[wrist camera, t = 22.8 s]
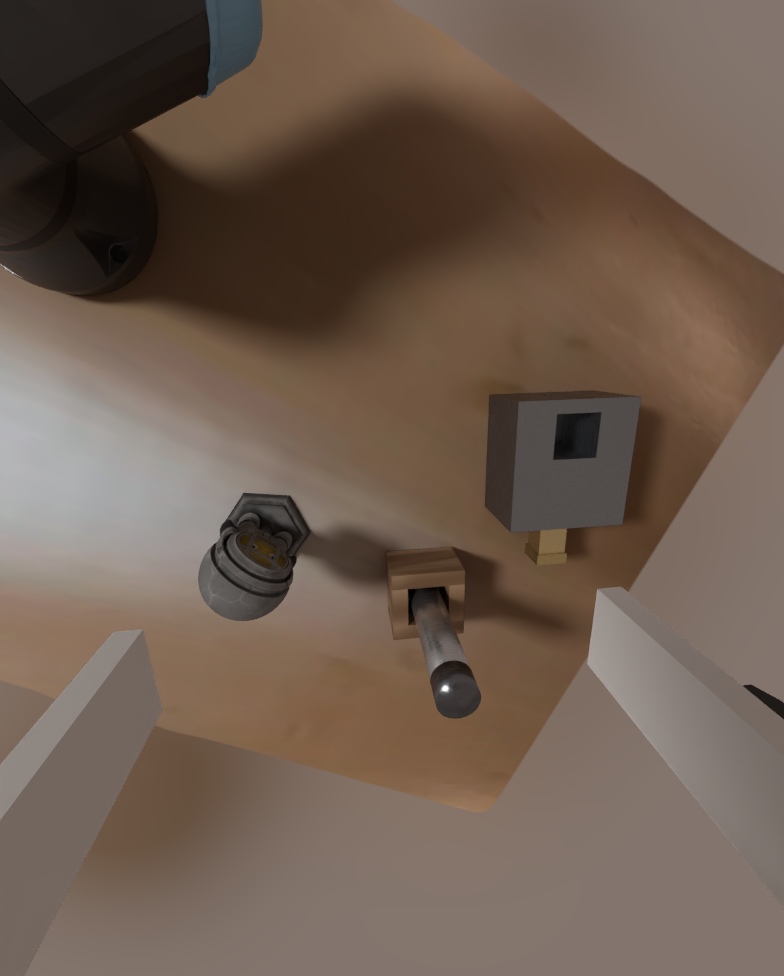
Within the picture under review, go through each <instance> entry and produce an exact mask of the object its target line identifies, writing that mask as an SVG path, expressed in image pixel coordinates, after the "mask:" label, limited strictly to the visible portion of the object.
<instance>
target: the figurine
mask: <svg viewBox="0 0 784 976" xmlns="http://www.w3.org/2000/svg"><path fill="white" fill-rule="evenodd" d="M309 534H310V530H309V529H308V527H307V525H306V523H305V522H304V520H303V518H302V516H301V515H300V513H299V511H298V509H297V508H296V506H295V504H294V502H293V501H292V499H291V497H290V496H286V495H269V494H252V493H243V495H242V497H241V498H240V500H239V501H238V503H237V504H236V506H235V507H234V509H233V510H232V512H231V513H230V515H229V516H228V518H227V520H226V521H225V522H224V523H223V524H222V526H221V529H220V536H221V538H220V539H219V540H218V541H217V542H216V543H215V544H214V545H213V546H212V547H211V548H210V549H209V550H208V551H207V553H206V554H205V556H204V558H203V560H202V562H201V565H200V569H199V576H198V582H199V589H200V592H201V595H202V597H203V599H204V601H205V602H206V604H207V605H208V606H209V607H210V608H211V609H212V610H213V611H214V612H216V613H217V614H219V615H220V616H222V617H225V618H227V619H231V620H237V621H248V620H254V619H257V618H260V617H262V616H265V615H266V614H268V613H270V612H271V611H273V610H274V609H275V608H276V607H277V606H278V605H279V604H280V603H281V602H282V601H283V599H284V598H285V596H286V594H287V592H288V590H289V587H290V585H291V583H292V580H293V567H294V566H295V564H296V556H294V555H295V554H296V552H297V551H298V549H299V548H300V546H301V545H302V544H303V542H304V541H305V539H306V538H307V537H308V535H309Z"/></svg>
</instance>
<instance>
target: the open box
mask: <svg viewBox="0 0 784 976" xmlns="http://www.w3.org/2000/svg"><path fill="white" fill-rule="evenodd" d="M386 560H387V588H388V611H389V616H390V622H391V627H392V633H393V639H394V640H399V639H409V638H419V634H418V630H417V626H416V622H415V618H414V614H413V610H412V606H411V602H410V598H409V595H408V589H416V588H428V587H438V588H439V590H440V593H441V595H442V598H443V600H444V603H445V605H446V608H447V611H448V613H449V616H450V618H451V621H452V623H453V626H454V629H455V631H456V634H461V633H463V631H464V595H465V569H464V568H463V566H462V564H461V562H460V561H459V559H458V557H457V555H456V554H455V552H454V550H453V549H452V547H441V548H428V549H414V550H401V551H388V552H386Z"/></svg>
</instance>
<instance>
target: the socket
mask: <svg viewBox="0 0 784 976" xmlns="http://www.w3.org/2000/svg"><path fill="white" fill-rule="evenodd" d="M640 403H641V396H633V395H624V394H616V393H608V392H600V391H572V392H546V393H521V394H495V395H489V418H488V443H487V467H486V491H485V507H486V508H487V509H488V510H489V511H490V512H491V513H492V514H493V515H494V516H495V517H496V518H497V519H498V520H499V521H500V522H501V523H502V524H503V525H504V526H505V527H506V528H507V529H508V530H509V531H510V532H511V533H512V532H526V531H539V530H553V529H567V528H581V527H594V526H608V525H622V523H623V517H624V510H625V503H626V496H627V490H628V483H629V476H630V470H631V463H632V456H633V450H634V443H635V436H636V429H637V423H638V416H639V409H640Z"/></svg>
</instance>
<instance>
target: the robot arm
mask: <svg viewBox="0 0 784 976" xmlns="http://www.w3.org/2000/svg"><path fill="white" fill-rule="evenodd" d="M262 27H263V21H262V4H261V0H0V265H1V266H2V267H3V268H5V269H6V270H7V271H9V272H11V273H12V274H14V275H16V276H17V277H19V278H21V279H23V280H25V281H27V282H29V283H32V284H34V285H37V286H39V287H42V288H45V289H49V290H53V291H57V292H62V293H66V294H71V295H79V296H91V295H99V294H104V293H108V292H111V291H113V290H116V289H118V288H120V287H122V286H124V285H125V284H127V283H128V282H129V281H131V280H132V279H133V278H134V277H135V276H136V275H137V274H138V273H139V272H140V271H141V269H142V268H143V267H144V265H145V264H146V262H147V260H148V258H149V256H150V254H151V252H152V249H153V246H154V243H155V238H156V232H157V207H156V200H155V196H154V192H153V188H152V185H151V182H150V179H149V177H148V174H147V172H146V170H145V168H144V166H143V164H142V162H141V160H140V158H139V157H138V155H137V154H136V152H135V150H134V149H133V148H132V146H131V145H130V144H129V142H128V141H127V140H126V139H125V137H124V136H123V134H125V133H127V132H129V131H131V130H133V129H134V128H136V127H138V126H140V125H142V124H144V123H146V122H148V121H150V120H152V119H154V118H156V117H157V116H159V115H161V114H163V113H165V112H167V111H169V110H171V109H173V108H175V107H177V106H178V105H180V104H182V103H184V102H186V101H188V100H190V99H192V98H194V97H196V96H199V97H201V98H206V97H208V96H210V95H211V93H212V92H213V91H214V90H215V88H216V86H217V85H219V84H220V83H222V82H224V81H225V80H227V79H228V78H230V77H232V76H233V75H235V74H237V73H238V72H240V71H242V70H243V69H245V68H246V67H248V66H249V65H250V64H251V63H252V62H253V60H254V59H255V57H256V54H257V50H258V47H259V46H260V42H261V38H262ZM587 664H588V665H589V667H590V668H591V669H592V670H593V672H594V673H595V674H596V675H597V677H598V678H599V679H600V680H601V682H602V683H603V684H604V685H605V687H606V688H607V689H608V690H609V691H610V693H611V694H612V695H613V697H614V698H615V699H616V700H617V702H618V703H619V704H620V705H621V707H622V708H623V709H624V710H625V711H626V713H627V714H628V715H629V717H630V718H631V719H632V720H633V722H634V723H635V724H636V725H637V727H638V728H639V729H640V730H641V731H642V733H643V734H644V735H645V737H646V738H647V739H648V740H649V742H650V743H651V744H652V745H653V747H654V748H655V749H656V750H657V751H658V753H659V754H660V755H661V756H662V758H663V759H664V760H665V761H666V763H667V764H668V765H669V766H670V768H671V769H672V770H673V771H674V773H675V774H676V775H677V776H678V778H679V779H680V780H681V781H682V783H683V784H684V785H685V786H686V788H687V789H688V790H689V791H690V793H691V794H692V795H693V796H694V798H695V799H696V800H697V801H698V802H699V804H700V805H701V806H702V808H703V809H704V810H705V811H706V813H707V814H708V815H709V816H710V818H711V819H712V820H713V821H714V823H715V824H716V825H717V826H718V828H719V829H720V830H721V831H722V832H723V833H724V835H725V836H726V838H727V839H728V840H729V841H730V843H731V844H732V845H733V846H734V848H735V849H736V850H737V851H738V852H739V854H740V855H741V856H742V858H743V859H744V860H745V861H746V862H747V864H748V865H749V866H750V867H751V869H752V870H753V871H754V872H755V874H756V875H757V876H758V877H759V879H760V880H761V881H762V882H763V884H764V885H765V886H766V887H767V889H768V890H769V891H770V892H771V894H772V895H773V896H774V897H775V899H776V900H777V901H778V902H779V904H780V905H781V906H782V907H783V909H784V703H783V702H782V701H780V700H779V699H776V698H775V697H773V696H771V695H769V694H767V693H765V692H764V691H762V690H760V689H758V688H756V687H754V686H753V685H744V686H742V685H741V684H740V683H738V682H737V681H736V680H735V679H734V678H732V677H731V676H730V675H729V674H727V673H726V672H725V671H724V670H722V669H721V668H720V667H719V666H717V665H716V664H715V663H714V662H712V661H711V660H710V659H709V658H708V657H707V656H705V655H704V654H703V653H701V652H700V651H699V650H698V649H697V648H696V647H694V646H693V645H692V644H691V643H689V642H688V641H687V640H686V639H685V638H683V637H682V636H681V635H680V634H678V633H677V632H676V631H675V630H674V629H672V628H671V627H670V626H669V625H667V624H666V623H665V622H664V621H662V620H661V619H660V618H659V617H657V616H656V615H655V614H654V613H653V612H651V611H650V610H649V609H648V608H647V607H645V606H644V605H643V604H641V603H640V602H639V601H638V600H637V599H636V598H634V597H633V596H632V595H631V594H629V593H628V592H627V591H626V590H625V589H623V588H622V587H613V588H602V589H597V596H596V604H595V611H594V618H593V626H592V633H591V640H590V648H589V655H588V662H587ZM162 710H163V709H162V705H161V701H160V696H159V692H158V688H157V684H156V680H155V676H154V672H153V668H152V664H151V660H150V656H149V652H148V648H147V643H146V639H145V635H144V631H143V629H140V630H129V631H117V632H113V633H112V634H111V635H110V636H109V638H108V639H107V640H106V641H105V642H104V643H103V645H102V646H101V647H100V648H99V649H98V650H97V652H96V653H95V654H94V655H93V656H92V658H91V659H90V660H89V661H88V662H87V663H86V665H85V666H84V667H83V668H82V669H81V670H80V672H79V673H78V674H77V675H76V676H75V678H74V679H73V680H72V681H71V682H70V683H69V685H68V686H67V687H66V688H65V689H64V690H63V692H62V693H61V694H60V695H59V696H58V698H57V699H56V700H55V701H54V702H53V703H52V705H51V706H50V707H49V708H48V709H47V711H46V712H45V713H44V714H43V715H42V717H41V718H40V719H39V720H38V721H37V722H36V723H35V725H34V726H33V727H32V728H31V729H30V730H29V732H28V733H27V734H26V735H25V736H24V738H23V739H22V740H21V741H20V742H19V743H18V745H17V746H16V747H15V748H14V749H13V751H12V752H11V753H10V754H9V755H8V757H7V758H6V759H5V760H4V761H3V762H2V763H1V765H0V976H24V975H25V973H26V972H27V970H28V968H29V966H30V964H31V962H32V960H33V958H34V956H35V954H36V952H37V950H38V948H39V947H40V945H41V943H42V941H43V939H44V937H45V935H46V933H47V931H48V929H49V927H50V925H51V923H52V921H53V920H54V918H55V916H56V914H57V912H58V910H59V908H60V906H61V904H62V902H63V900H64V898H65V896H66V894H67V893H68V891H69V889H70V886H71V885H72V883H73V881H74V879H75V877H76V875H77V873H78V871H79V870H80V868H81V866H82V864H83V862H84V860H85V858H86V856H87V854H88V852H89V850H90V848H91V846H92V844H93V843H94V841H95V839H96V837H97V835H98V833H99V831H100V829H101V827H102V825H103V823H104V821H105V819H106V817H107V815H108V814H109V812H110V810H111V808H112V806H113V804H114V802H115V800H116V798H117V796H118V794H119V792H120V791H121V788H122V787H123V785H124V783H125V781H126V779H127V777H128V775H129V773H130V771H131V769H132V767H133V766H134V764H135V762H136V760H137V758H138V756H139V754H140V752H141V750H142V748H143V746H144V744H145V742H146V740H147V738H148V736H149V734H150V733H151V731H152V729H153V727H154V725H155V723H156V721H157V719H158V717H159V716H160V714H161V712H162Z"/></svg>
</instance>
